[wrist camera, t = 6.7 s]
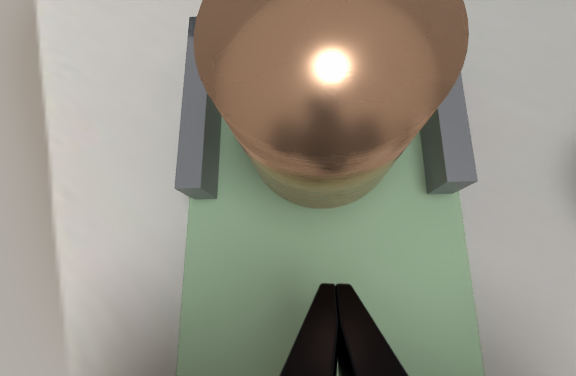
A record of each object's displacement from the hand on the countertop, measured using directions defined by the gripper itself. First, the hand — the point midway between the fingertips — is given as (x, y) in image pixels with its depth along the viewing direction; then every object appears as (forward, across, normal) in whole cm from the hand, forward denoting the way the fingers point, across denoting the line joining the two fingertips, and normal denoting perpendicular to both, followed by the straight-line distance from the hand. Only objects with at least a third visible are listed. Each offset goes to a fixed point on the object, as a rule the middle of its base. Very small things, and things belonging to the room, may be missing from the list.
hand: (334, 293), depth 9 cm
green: (+6, 0, +3) cm, 7 cm away
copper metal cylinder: (+10, 0, -1) cm, 10 cm away
